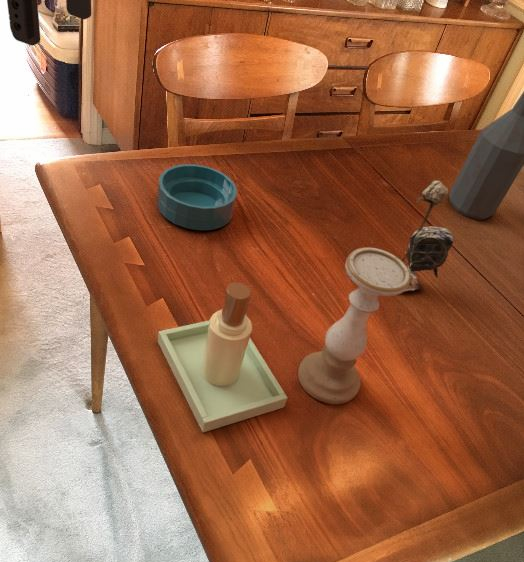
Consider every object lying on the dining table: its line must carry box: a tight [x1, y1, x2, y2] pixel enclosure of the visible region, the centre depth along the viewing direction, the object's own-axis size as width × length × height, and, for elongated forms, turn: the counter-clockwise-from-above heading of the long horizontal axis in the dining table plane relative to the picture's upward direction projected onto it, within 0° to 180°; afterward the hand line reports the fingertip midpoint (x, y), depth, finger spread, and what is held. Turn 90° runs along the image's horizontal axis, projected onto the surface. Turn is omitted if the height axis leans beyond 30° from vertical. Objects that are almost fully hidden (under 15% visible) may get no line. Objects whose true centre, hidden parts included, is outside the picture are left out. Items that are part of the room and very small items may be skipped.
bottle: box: [448, 91, 524, 221], centre depth 108 cm, size 10×10×30 cm
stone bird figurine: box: [401, 179, 457, 292], centre depth 89 cm, size 8×11×20 cm
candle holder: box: [297, 246, 410, 405], centre depth 70 cm, size 9×9×20 cm
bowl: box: [156, 163, 238, 231], centre depth 96 cm, size 13×13×5 cm
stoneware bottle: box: [201, 281, 253, 387], centre depth 68 cm, size 5×5×14 cm
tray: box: [157, 319, 288, 433], centre depth 73 cm, size 16×12×2 cm
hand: (54, 28), depth 50 cm, fingers open, 8 cm apart
